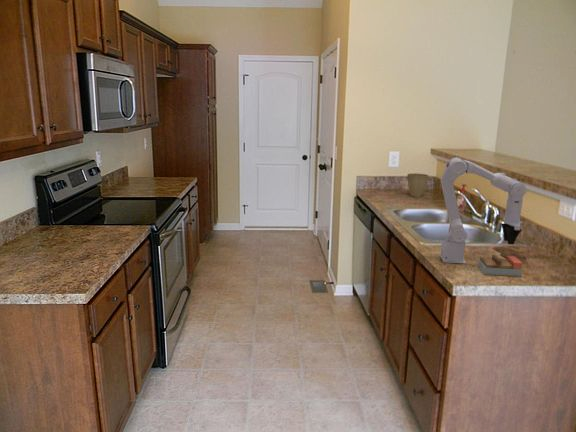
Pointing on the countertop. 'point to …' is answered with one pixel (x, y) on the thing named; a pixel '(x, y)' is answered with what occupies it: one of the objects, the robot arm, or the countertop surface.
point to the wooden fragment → (511, 254)
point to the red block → (514, 262)
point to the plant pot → (417, 183)
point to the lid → (496, 262)
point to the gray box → (499, 270)
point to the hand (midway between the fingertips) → (508, 242)
